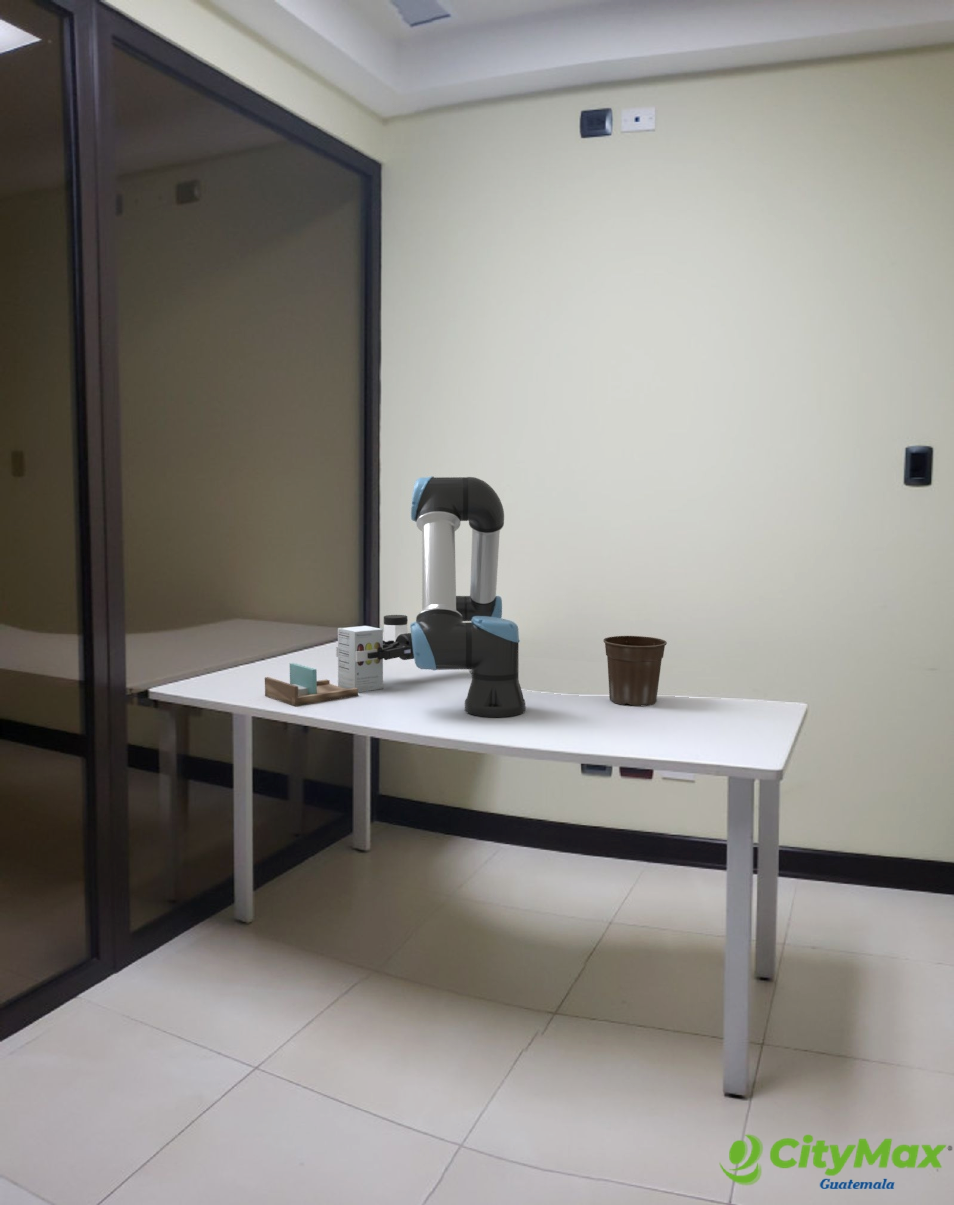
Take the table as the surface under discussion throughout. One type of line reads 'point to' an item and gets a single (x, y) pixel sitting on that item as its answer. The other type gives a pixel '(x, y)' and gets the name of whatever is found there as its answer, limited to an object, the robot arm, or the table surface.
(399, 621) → the jar
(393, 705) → the table surface
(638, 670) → the plant pot
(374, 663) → the supplement box
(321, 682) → the lane
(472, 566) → the robot arm
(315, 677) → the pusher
